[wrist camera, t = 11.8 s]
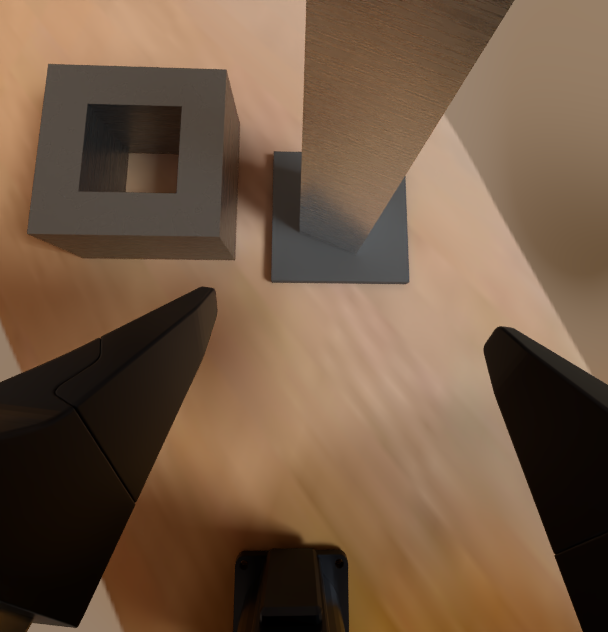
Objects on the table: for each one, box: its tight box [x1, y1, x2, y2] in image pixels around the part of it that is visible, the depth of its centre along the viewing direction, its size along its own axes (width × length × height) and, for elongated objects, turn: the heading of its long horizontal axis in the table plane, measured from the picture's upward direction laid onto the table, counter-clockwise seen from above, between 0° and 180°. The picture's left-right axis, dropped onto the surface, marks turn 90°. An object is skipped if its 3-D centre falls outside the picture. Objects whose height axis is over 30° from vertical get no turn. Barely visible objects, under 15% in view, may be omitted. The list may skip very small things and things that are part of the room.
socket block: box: [27, 64, 240, 260], centre depth 18 cm, size 10×10×4 cm
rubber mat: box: [271, 151, 409, 284], centre depth 20 cm, size 9×9×1 cm
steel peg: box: [299, 0, 514, 254], centre depth 12 cm, size 4×4×14 cm
